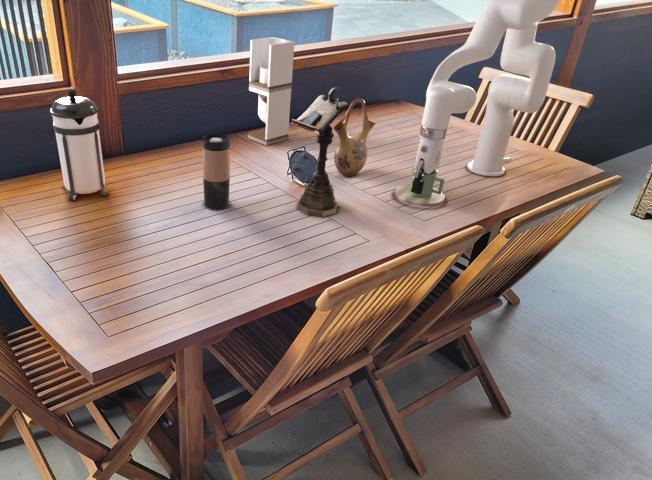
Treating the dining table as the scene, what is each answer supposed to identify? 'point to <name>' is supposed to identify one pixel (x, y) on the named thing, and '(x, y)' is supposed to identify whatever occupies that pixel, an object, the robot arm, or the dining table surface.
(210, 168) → the travel mug
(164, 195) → the dining table surface
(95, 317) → the dining table surface
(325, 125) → the ornate book stand
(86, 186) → the coffee press
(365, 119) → the ceramic vessel
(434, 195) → the coffee cup on saucer
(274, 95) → the white dispenser tower
